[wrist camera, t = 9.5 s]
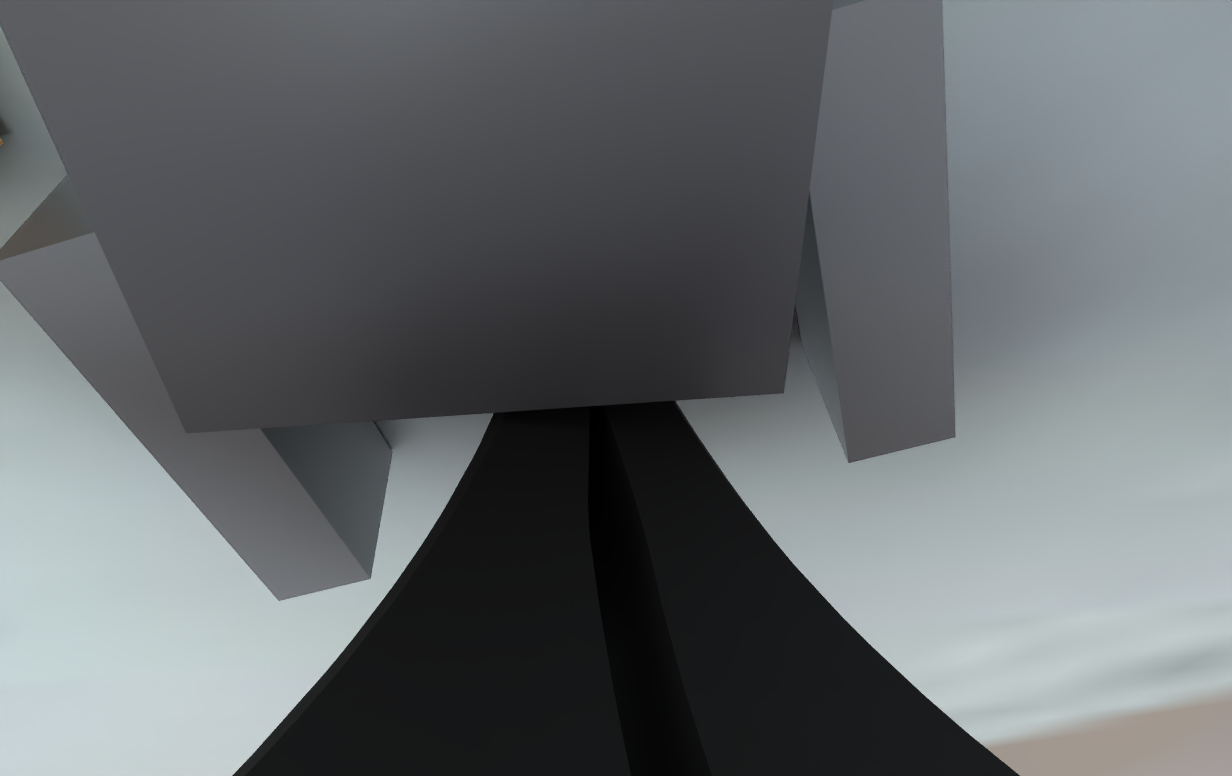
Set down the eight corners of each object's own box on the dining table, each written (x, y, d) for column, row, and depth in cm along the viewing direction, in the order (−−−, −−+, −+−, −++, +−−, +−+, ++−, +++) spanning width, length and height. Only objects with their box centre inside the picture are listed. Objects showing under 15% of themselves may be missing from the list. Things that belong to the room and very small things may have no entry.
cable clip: (858, -88, 8) (942, -24, 7) (892, 322, 12) (955, 437, 10) (86, 154, 9) (-14, 265, 8) (313, 472, 12) (278, 600, 11)
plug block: (746, -372, 7) (883, -389, 4) (717, 199, 10) (782, 393, 8) (104, -351, 7) (-171, -356, 4) (278, 224, 10) (186, 432, 7)
